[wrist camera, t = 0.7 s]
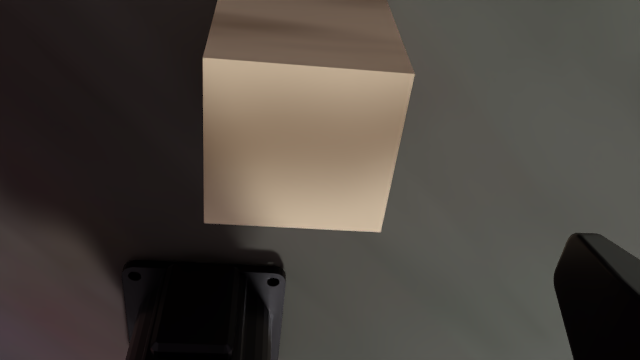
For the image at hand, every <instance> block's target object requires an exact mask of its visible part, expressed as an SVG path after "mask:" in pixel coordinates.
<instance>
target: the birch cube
mask: <svg viewBox="0 0 640 360" xmlns="http://www.w3.org/2000/svg"><path fill="white" fill-rule="evenodd" d="M414 75H415V73H414V71H413V68H412V65H411V63H410V60H409V58H408V55H407V52H406V50H405V47H404V44H403V42H402V39H401V37H400V34H399V31H398V29H397V26H396V23H395V21H394V18H393V15H392V13H391V10H390V8H389V5H388V2H387V0H217V4H216V8H215V12H214V16H213V20H212V24H211V28H210V31H209V35H208V39H207V43H206V47H205V51H204V55H203V156H204V223H209V224H228V225H248V226H268V227H287V228H307V229H327V230H346V231H366V232H381V228H382V223H383V219H384V214H385V209H386V205H387V200H388V196H389V191H390V186H391V182H392V177H393V172H394V168H395V163H396V159H397V154H398V149H399V145H400V140H401V135H402V131H403V126H404V122H405V117H406V112H407V108H408V103H409V98H410V94H411V89H412V85H413V80H414Z"/></svg>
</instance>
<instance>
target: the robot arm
mask: <svg viewBox="0 0 640 360" xmlns="http://www.w3.org/2000/svg"><path fill="white" fill-rule="evenodd" d="M133 272H138V273H139V274H136V273H133ZM270 278H277V279H274V280H272V279H270ZM122 282H123V290H124V298H125V307H126V315H127V323H128V332H129V340H130V344H129V348H128V352H127V356H126V360H278V354H279V344H280V334H281V324H282V314H283V304H284V294H285V284H286V275H285V272H284V270H283V269H281V268H279V267H275V266H255V265H233V264H211V263H189V262H167V261H145V260H132V261H129V262H127V263H126V264H125V265H124V269H123V272H122ZM554 288H555V292H556V295H557V299H558V303H559V307H560V310H561V314H562V318H563V321H564V325H565V329H566V333H567V336H568V340H569V344H570V348H571V351H572V355H573V359H574V360H640V260H639V259H638V258H636V257H634V256H633V255H631V254H630V253H628V252H627V251H625V250H624V249H622V248H621V247H619V246H617V245H616V244H614V243H613V242H611V241H610V240H608V239H607V238H605V237H604V236H602V235H600V234H595V233H575V234H572V235H571V236H570V237H569V238H568V240H567V242H566V245H565V247H564V250H563V252H562V255H561V257H560V260H559V262H558V264H557V267H556V269H555V273H554Z"/></svg>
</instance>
